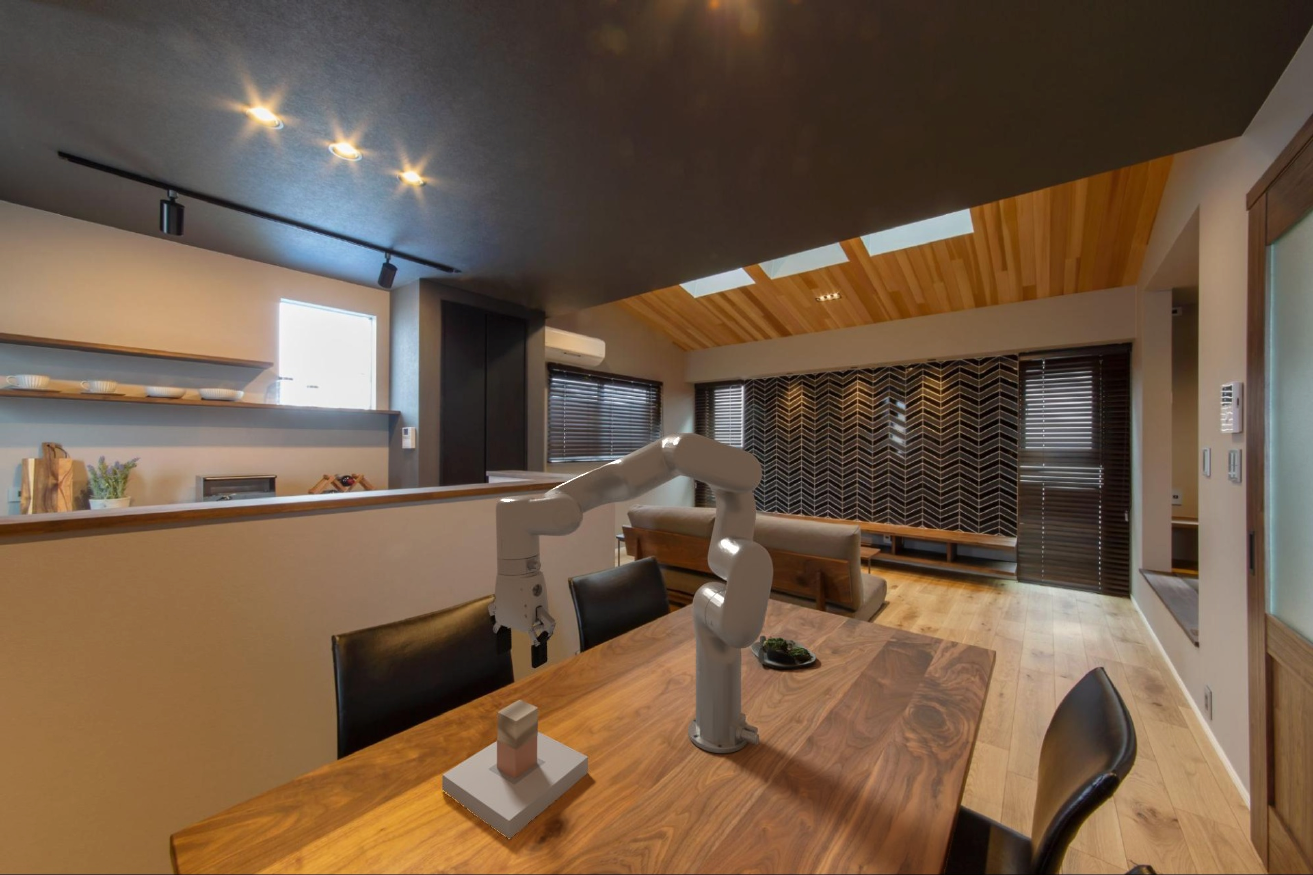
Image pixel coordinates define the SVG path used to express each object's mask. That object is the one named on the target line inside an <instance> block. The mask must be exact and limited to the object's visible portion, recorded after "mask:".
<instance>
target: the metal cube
mask: <svg viewBox="0 0 1313 875" xmlns="http://www.w3.org/2000/svg"><path fill="white" fill-rule="evenodd" d="M496 726H497V730H496V731H497V739H496V741H497V740H498V741H500V742H502V743H504V744H506V745H508V746H510V747H511V748H513V749H515V750H517V749H518V748H520V747H521V746H523V745H524V744H526V743H527V742H528V741H530V740H531V739H533V738H534V737H536V736H537V735H538V732H539V727H538V726H539V708H538V707H537V706H535V705H533V704H531V703H528V702H526V701H524V700H522V699H518V700H516V701H515V702H512V703H511V704H510V705H508V706H505V707H504V708H502V709H501V710H500V709H499V711H497V725H496Z"/></svg>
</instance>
